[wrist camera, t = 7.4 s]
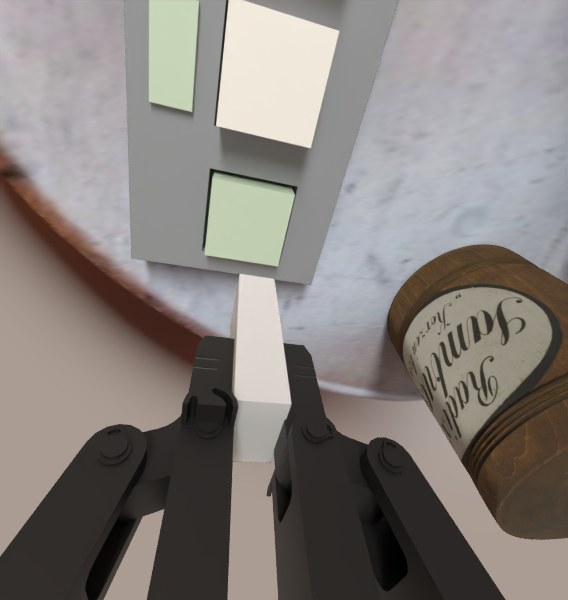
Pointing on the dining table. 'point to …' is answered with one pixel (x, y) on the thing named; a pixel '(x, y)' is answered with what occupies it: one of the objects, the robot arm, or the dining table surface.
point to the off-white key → (273, 73)
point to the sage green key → (247, 218)
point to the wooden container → (494, 377)
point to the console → (229, 143)
